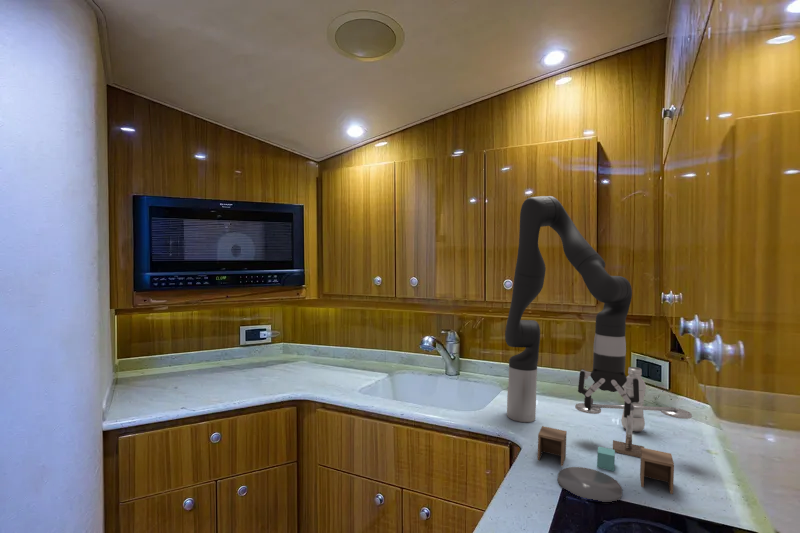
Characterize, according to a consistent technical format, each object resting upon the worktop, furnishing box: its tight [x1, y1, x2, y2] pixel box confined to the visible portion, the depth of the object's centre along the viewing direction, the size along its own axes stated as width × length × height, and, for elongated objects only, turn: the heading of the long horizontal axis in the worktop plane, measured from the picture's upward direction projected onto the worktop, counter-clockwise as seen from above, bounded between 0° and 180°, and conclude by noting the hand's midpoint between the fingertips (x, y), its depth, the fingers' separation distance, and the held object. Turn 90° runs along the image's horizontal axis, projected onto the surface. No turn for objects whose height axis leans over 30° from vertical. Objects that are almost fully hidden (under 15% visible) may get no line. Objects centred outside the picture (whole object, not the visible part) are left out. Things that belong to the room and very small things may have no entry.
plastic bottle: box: [620, 366, 647, 433], centre depth 133 cm, size 6×7×20 cm
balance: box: [574, 397, 692, 459], centre depth 118 cm, size 29×7×14 cm, turn 62°
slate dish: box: [557, 466, 623, 503], centre depth 99 cm, size 14×14×1 cm
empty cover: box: [639, 447, 675, 495], centre depth 101 cm, size 6×6×7 cm
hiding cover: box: [536, 425, 567, 467], centre depth 113 cm, size 6×6×7 cm
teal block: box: [596, 446, 616, 472], centre depth 110 cm, size 4×4×4 cm
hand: (607, 413), depth 109 cm, fingers open, 8 cm apart
